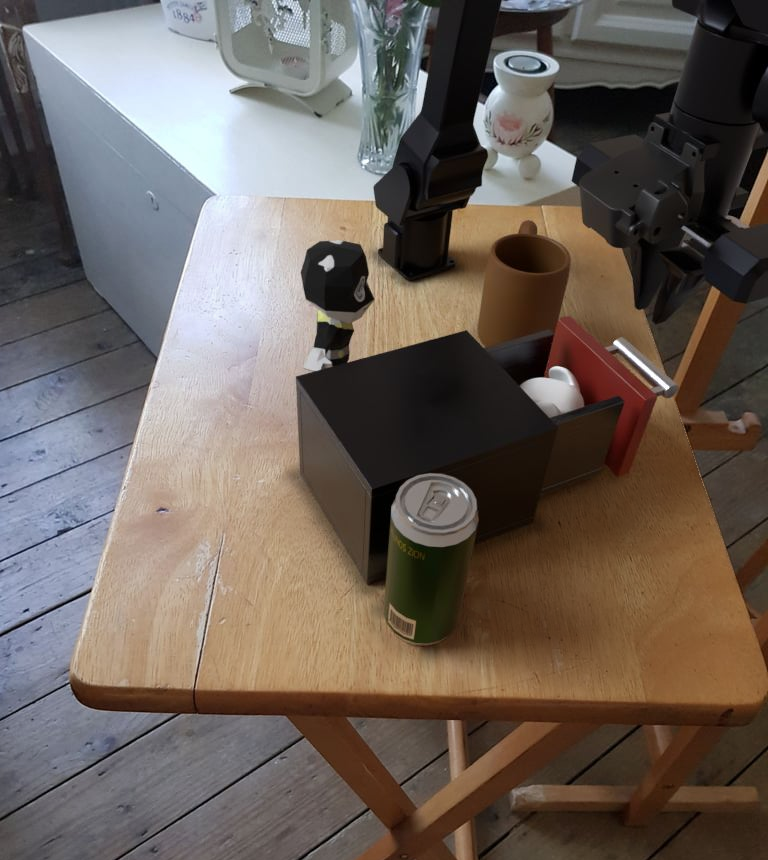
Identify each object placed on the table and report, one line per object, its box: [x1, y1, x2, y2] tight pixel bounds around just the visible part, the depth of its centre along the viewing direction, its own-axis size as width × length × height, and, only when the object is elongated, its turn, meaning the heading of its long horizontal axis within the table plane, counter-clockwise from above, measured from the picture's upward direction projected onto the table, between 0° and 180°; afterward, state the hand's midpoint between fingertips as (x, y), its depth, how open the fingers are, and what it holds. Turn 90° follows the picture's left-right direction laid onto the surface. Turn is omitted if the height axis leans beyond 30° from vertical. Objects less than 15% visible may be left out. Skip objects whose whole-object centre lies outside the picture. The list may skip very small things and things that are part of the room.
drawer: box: [483, 315, 679, 497], centre depth 66 cm, size 18×11×8 cm, turn 117°
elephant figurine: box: [520, 366, 584, 418], centre depth 66 cm, size 7×8×6 cm
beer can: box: [383, 473, 479, 647], centre depth 53 cm, size 5×5×12 cm
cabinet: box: [295, 329, 558, 586], centre depth 62 cm, size 15×13×10 cm
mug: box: [477, 219, 572, 348], centre depth 79 cm, size 12×8×9 cm, turn 173°
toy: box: [300, 239, 375, 372], centre depth 68 cm, size 13×6×15 cm, turn 168°
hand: (649, 315), depth 63 cm, fingers closed
